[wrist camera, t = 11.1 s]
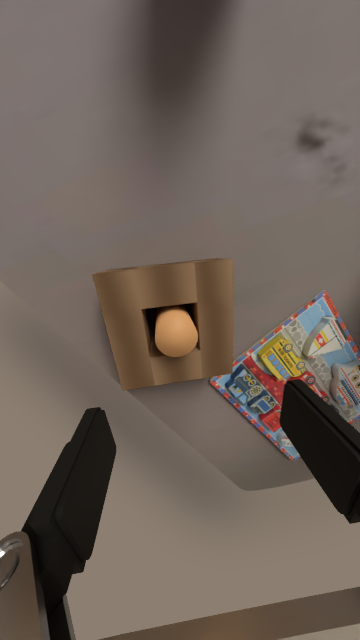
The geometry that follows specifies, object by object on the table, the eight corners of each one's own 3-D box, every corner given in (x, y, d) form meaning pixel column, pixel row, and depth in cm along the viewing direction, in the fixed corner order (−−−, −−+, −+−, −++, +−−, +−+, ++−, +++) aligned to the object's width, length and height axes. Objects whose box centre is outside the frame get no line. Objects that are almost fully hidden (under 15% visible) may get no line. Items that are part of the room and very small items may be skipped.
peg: (185, 297, 25) (196, 315, 18) (188, 326, 27) (199, 353, 19) (154, 301, 25) (151, 320, 17) (158, 330, 26) (158, 359, 19)
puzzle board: (379, 395, 37) (395, 405, 35) (288, 454, 41) (296, 467, 38) (320, 287, 28) (336, 290, 25) (206, 376, 31) (210, 387, 28)
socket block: (215, 258, 24) (233, 259, 18) (218, 350, 29) (232, 373, 23) (108, 269, 23) (92, 274, 17) (129, 363, 28) (122, 390, 22)
